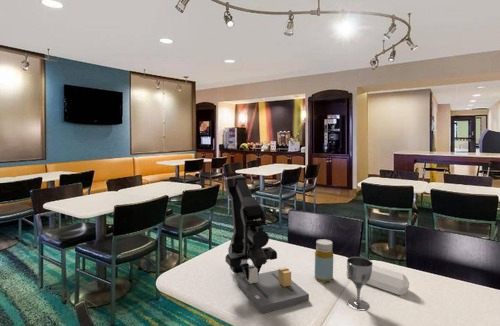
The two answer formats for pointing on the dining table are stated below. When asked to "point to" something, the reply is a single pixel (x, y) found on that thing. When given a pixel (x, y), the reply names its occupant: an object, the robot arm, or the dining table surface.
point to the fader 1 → (253, 274)
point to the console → (272, 292)
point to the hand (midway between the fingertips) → (251, 278)
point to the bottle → (324, 260)
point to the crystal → (388, 280)
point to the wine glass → (359, 278)
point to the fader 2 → (284, 276)
